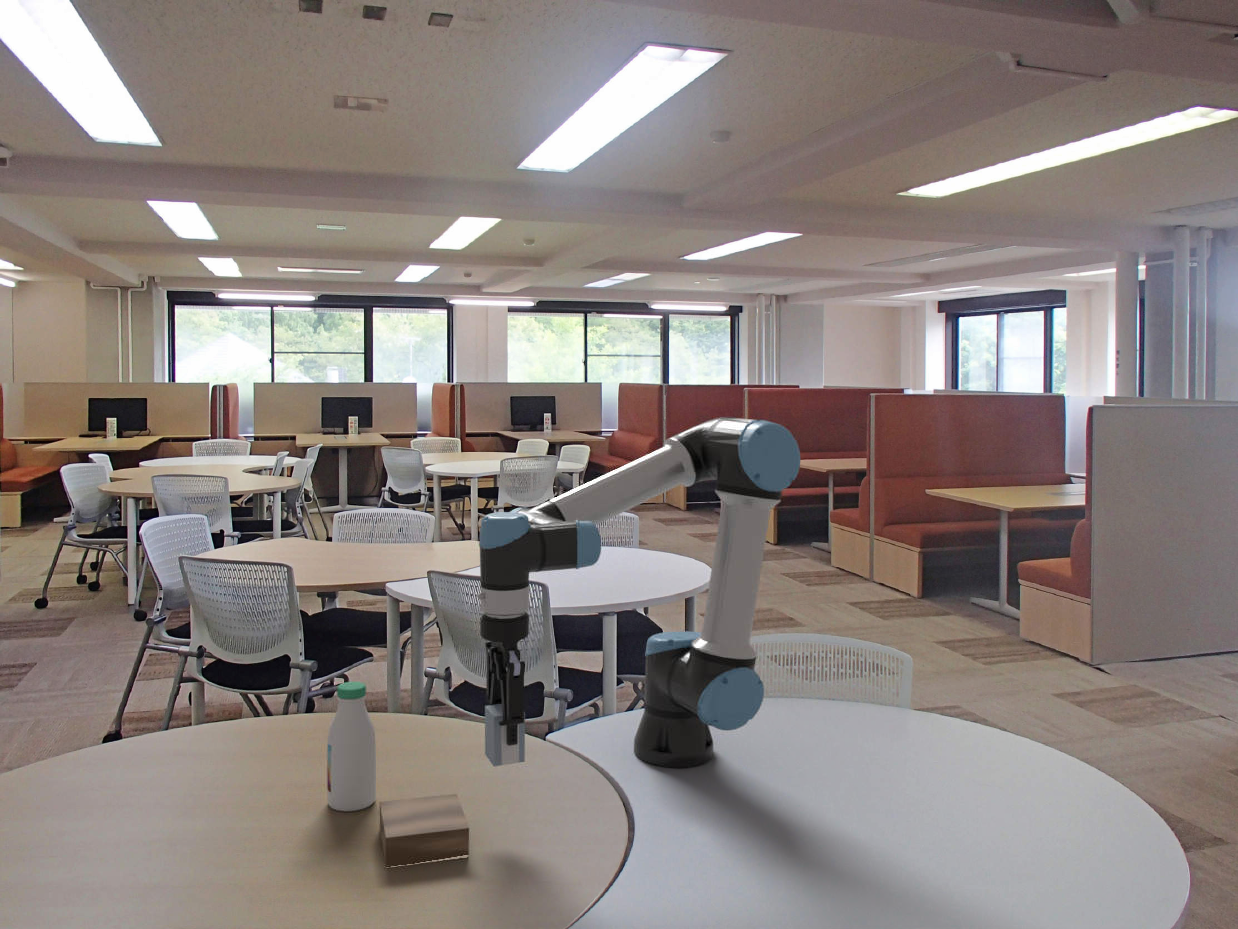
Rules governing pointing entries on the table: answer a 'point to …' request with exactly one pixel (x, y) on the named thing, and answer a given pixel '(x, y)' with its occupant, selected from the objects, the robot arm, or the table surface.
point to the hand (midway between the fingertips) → (504, 755)
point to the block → (499, 735)
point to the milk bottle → (351, 752)
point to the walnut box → (423, 829)
